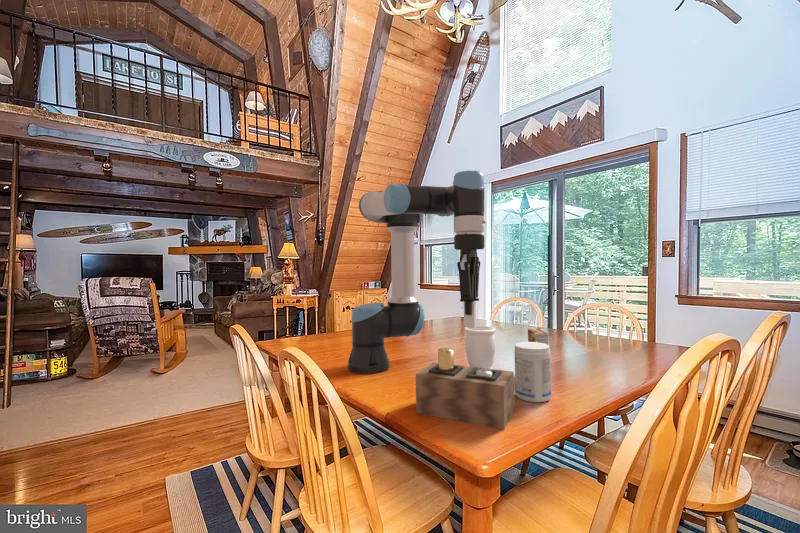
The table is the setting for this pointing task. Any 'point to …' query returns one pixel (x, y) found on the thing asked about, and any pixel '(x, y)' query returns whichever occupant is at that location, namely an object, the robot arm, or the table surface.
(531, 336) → the candy box
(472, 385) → the walnut block
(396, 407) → the table surface
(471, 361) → the jar
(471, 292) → the robot arm
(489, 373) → the steel peg
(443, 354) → the brass peg
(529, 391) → the supplement tub
